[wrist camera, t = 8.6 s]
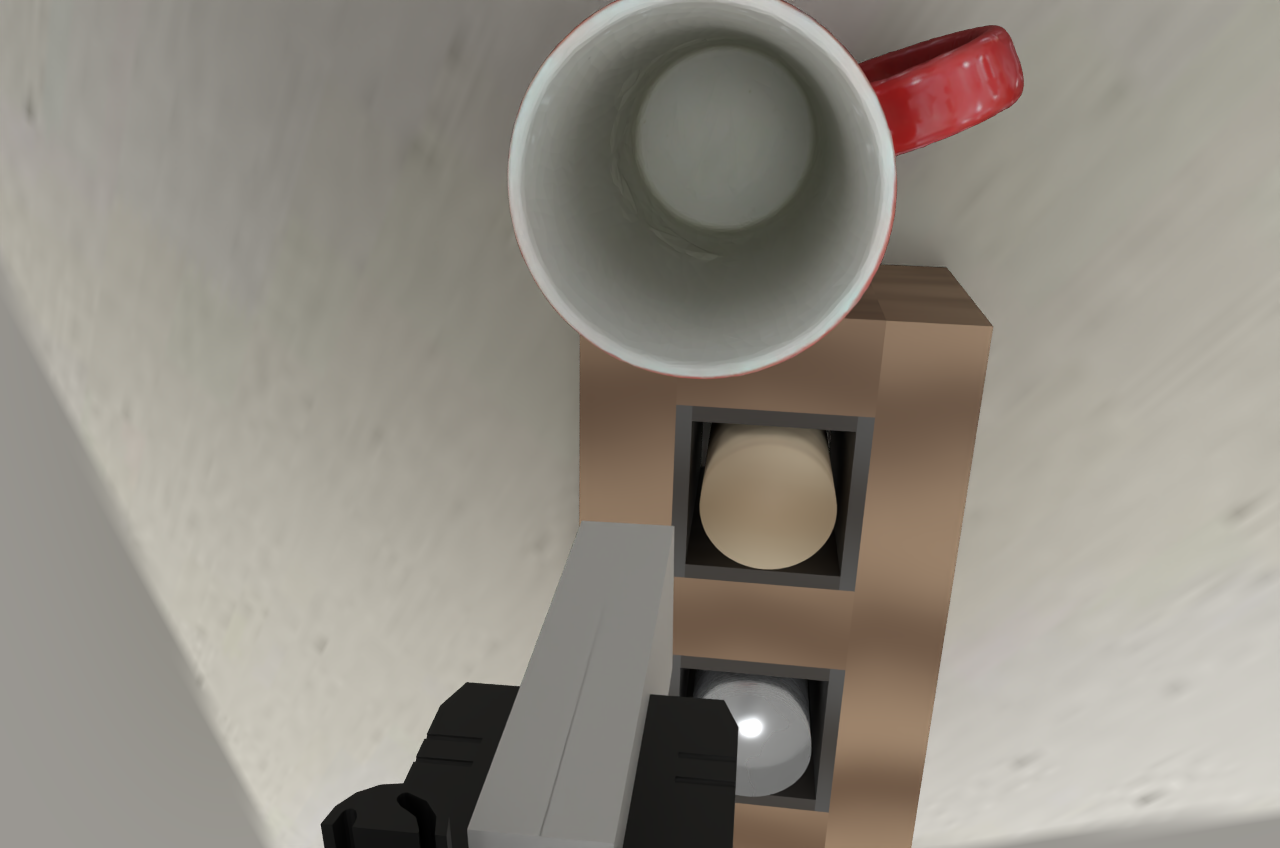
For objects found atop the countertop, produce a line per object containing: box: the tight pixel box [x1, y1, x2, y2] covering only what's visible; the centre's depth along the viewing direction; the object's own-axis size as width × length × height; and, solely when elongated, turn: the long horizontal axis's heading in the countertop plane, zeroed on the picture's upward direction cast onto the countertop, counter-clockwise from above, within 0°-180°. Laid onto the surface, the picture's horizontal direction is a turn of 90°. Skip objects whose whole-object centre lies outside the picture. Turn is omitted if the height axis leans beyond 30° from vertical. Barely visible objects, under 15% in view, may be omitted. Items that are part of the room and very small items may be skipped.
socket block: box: [579, 264, 993, 848], centre depth 37 cm, size 21×12×8 cm, turn 178°
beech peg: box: [700, 422, 837, 569], centre depth 34 cm, size 4×4×8 cm
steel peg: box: [693, 669, 811, 797], centre depth 37 cm, size 4×4×8 cm
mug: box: [507, 0, 1024, 379], centre depth 29 cm, size 13×9×14 cm
